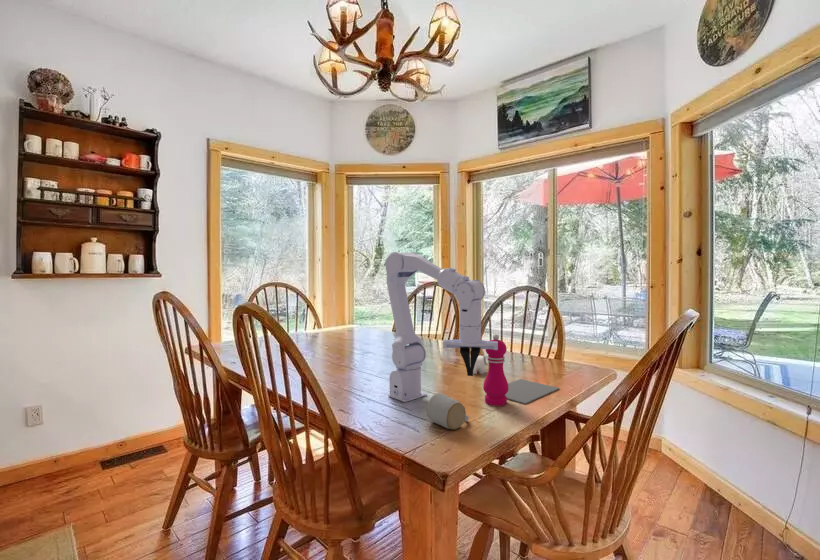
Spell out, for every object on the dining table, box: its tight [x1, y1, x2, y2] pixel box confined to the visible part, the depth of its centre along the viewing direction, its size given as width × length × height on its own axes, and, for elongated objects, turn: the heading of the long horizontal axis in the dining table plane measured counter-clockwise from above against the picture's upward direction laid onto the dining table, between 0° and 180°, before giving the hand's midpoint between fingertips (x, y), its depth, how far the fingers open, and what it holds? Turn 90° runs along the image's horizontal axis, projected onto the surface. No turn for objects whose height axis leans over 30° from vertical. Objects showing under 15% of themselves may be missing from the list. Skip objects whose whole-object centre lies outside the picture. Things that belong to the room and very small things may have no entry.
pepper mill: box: [482, 333, 509, 407], centre depth 119 cm, size 7×7×20 cm
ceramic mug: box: [426, 392, 469, 431], centre depth 104 cm, size 10×8×7 cm
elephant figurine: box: [470, 353, 489, 375], centre depth 152 cm, size 8×10×7 cm
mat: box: [505, 378, 560, 405], centre depth 129 cm, size 20×14×1 cm
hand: (470, 375), depth 111 cm, fingers closed
